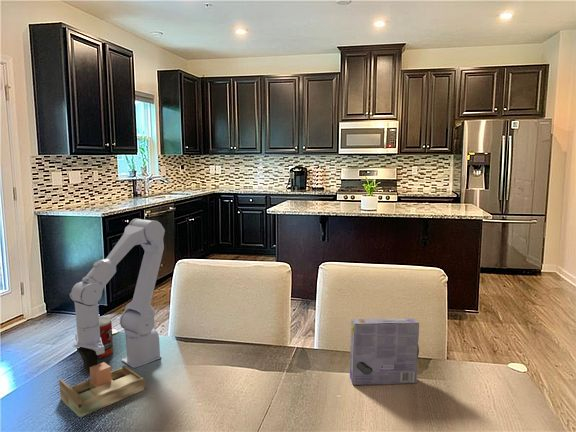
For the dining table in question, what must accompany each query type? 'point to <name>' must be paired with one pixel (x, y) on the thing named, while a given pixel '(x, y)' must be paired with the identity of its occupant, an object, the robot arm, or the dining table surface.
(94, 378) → the block
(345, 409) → the dining table surface
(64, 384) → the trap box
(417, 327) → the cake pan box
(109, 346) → the canned food
